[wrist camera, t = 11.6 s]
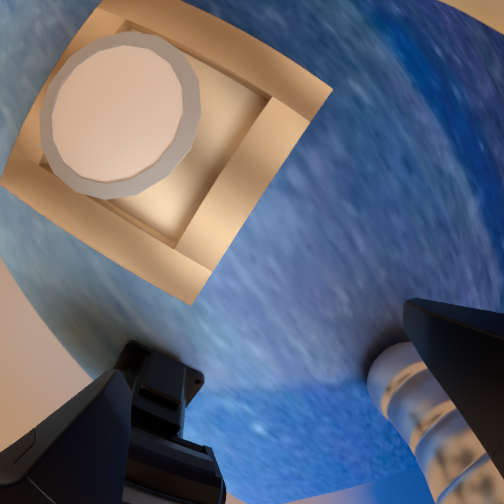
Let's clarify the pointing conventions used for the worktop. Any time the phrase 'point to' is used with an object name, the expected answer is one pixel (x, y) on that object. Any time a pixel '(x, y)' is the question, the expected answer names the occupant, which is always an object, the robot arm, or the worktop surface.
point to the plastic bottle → (433, 429)
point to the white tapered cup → (120, 115)
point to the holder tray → (196, 160)
